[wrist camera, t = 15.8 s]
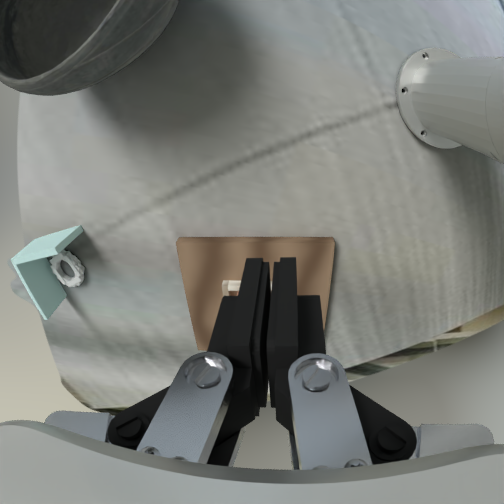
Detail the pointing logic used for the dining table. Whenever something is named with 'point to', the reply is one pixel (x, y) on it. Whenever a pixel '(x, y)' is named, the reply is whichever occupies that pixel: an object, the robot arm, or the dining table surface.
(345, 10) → the dining table surface
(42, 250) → the right angle wall
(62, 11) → the bowl
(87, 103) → the dining table surface
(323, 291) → the walnut board
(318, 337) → the robot arm
